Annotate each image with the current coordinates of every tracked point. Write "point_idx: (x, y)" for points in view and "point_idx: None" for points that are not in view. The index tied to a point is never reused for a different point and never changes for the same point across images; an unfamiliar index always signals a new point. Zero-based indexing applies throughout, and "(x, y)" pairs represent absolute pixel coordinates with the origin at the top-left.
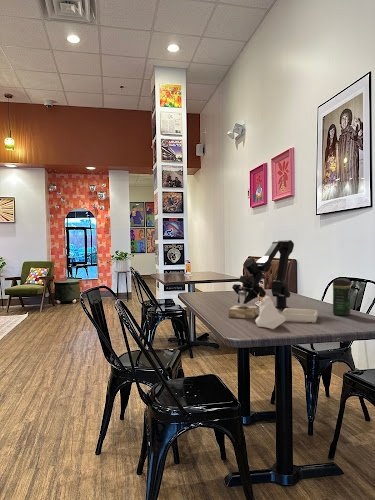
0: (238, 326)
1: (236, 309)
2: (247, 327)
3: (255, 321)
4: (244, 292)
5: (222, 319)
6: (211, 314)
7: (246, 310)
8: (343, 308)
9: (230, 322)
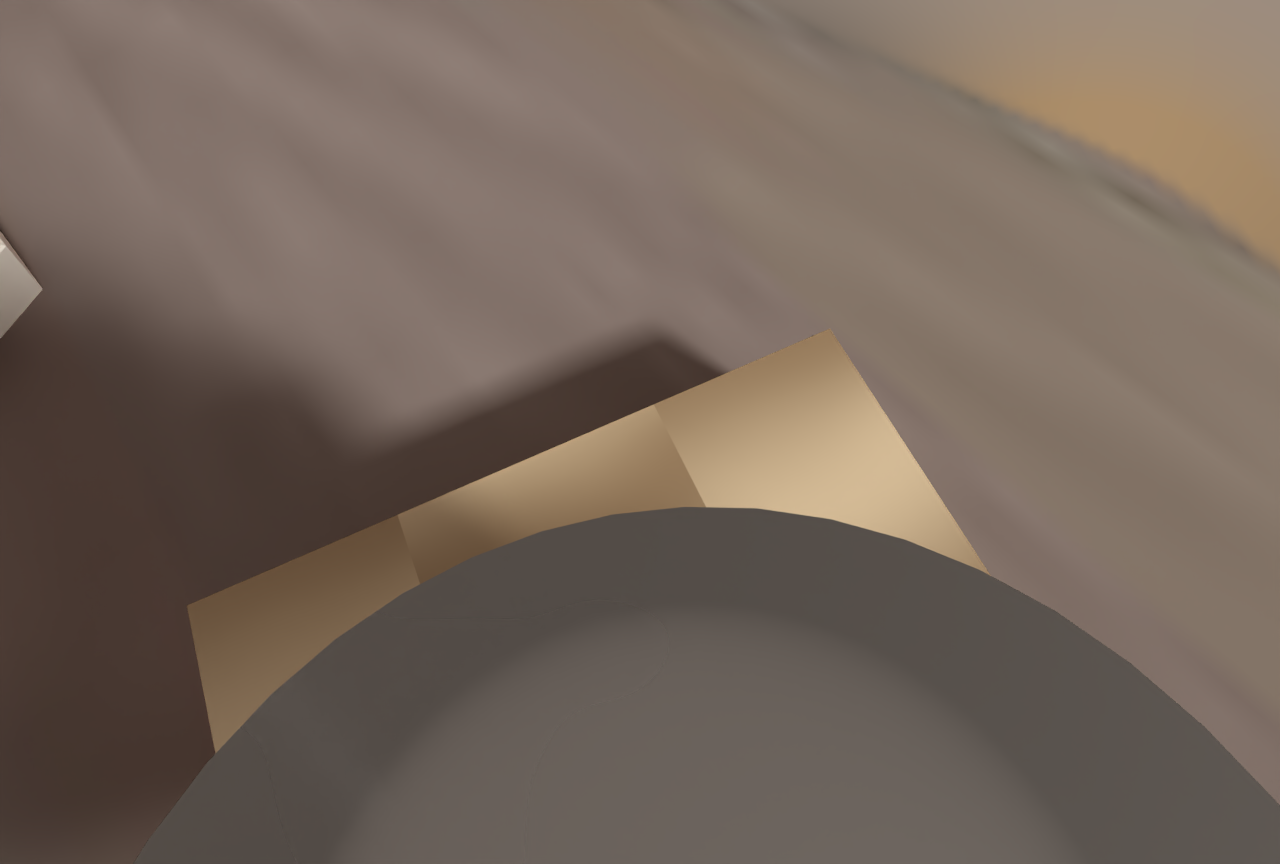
0: (215, 33)
1: (633, 419)
2: (79, 62)
3: (6, 244)
4: (231, 809)
5: (709, 194)
6: (1265, 381)
7: (357, 534)
8: None
9: (453, 125)
